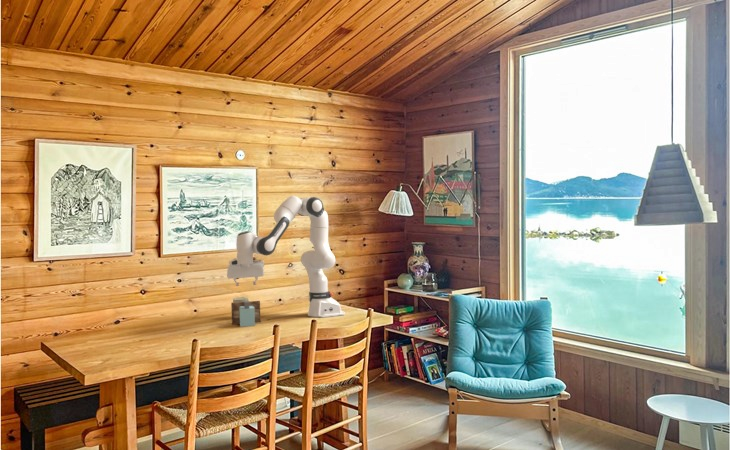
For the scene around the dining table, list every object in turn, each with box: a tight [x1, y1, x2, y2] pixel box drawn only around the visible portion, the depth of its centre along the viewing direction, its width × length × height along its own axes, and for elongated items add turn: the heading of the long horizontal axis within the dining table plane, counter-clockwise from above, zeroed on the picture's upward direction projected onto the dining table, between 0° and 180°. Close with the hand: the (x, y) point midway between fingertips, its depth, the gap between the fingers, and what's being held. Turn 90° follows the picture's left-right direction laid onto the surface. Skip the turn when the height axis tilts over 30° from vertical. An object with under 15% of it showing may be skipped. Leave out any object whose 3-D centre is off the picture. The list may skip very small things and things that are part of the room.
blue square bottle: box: [239, 300, 256, 328], centre depth 329 cm, size 8×9×14 cm
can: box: [232, 296, 249, 303], centre depth 352 cm, size 9×9×12 cm
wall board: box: [230, 300, 261, 325], centre depth 334 cm, size 16×6×12 cm, turn 105°
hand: (246, 285), depth 326 cm, fingers open, 8 cm apart
